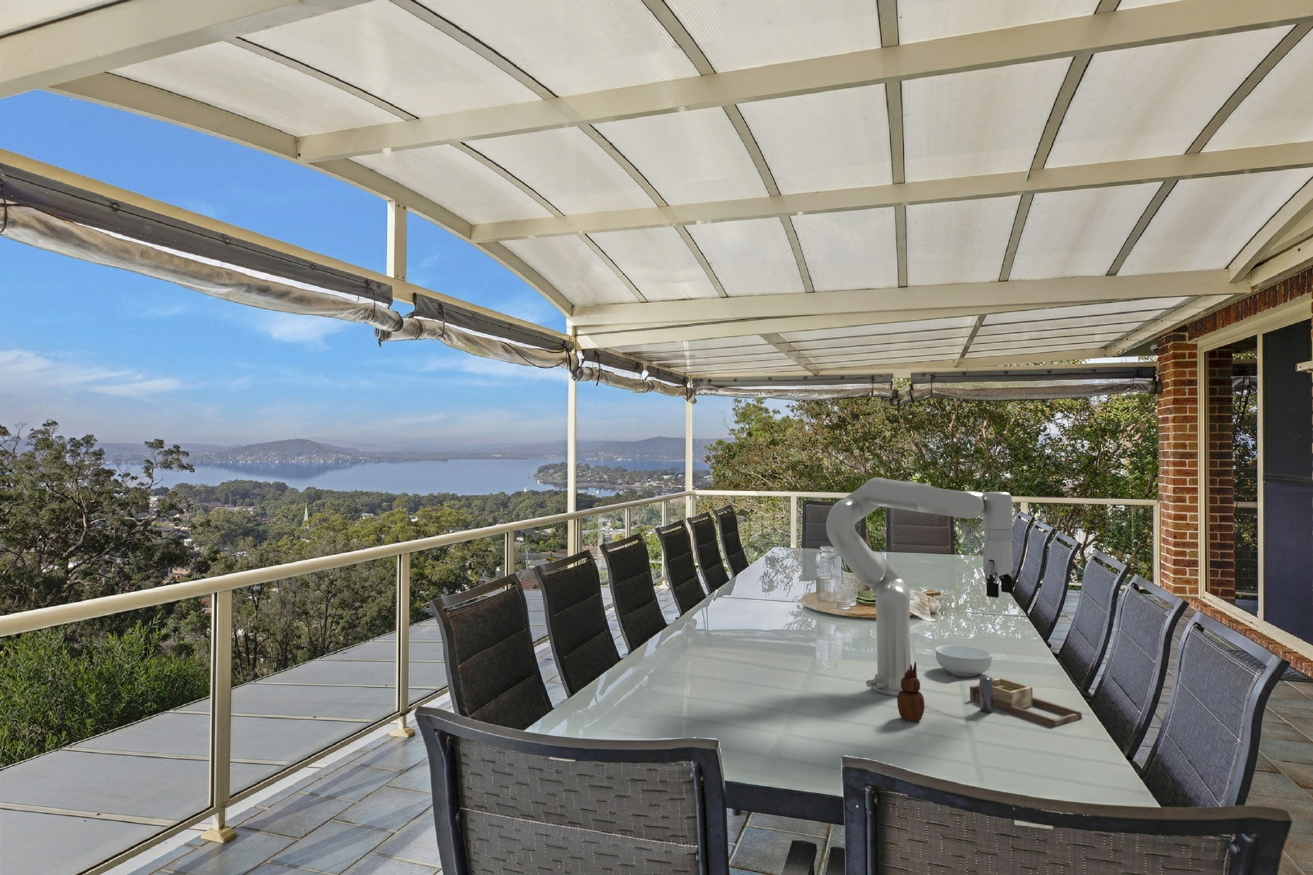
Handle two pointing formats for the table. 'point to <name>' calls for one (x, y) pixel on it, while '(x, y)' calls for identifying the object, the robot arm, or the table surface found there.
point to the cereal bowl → (963, 660)
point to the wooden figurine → (910, 697)
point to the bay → (1070, 713)
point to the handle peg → (986, 694)
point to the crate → (1012, 693)
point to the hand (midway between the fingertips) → (1000, 594)
